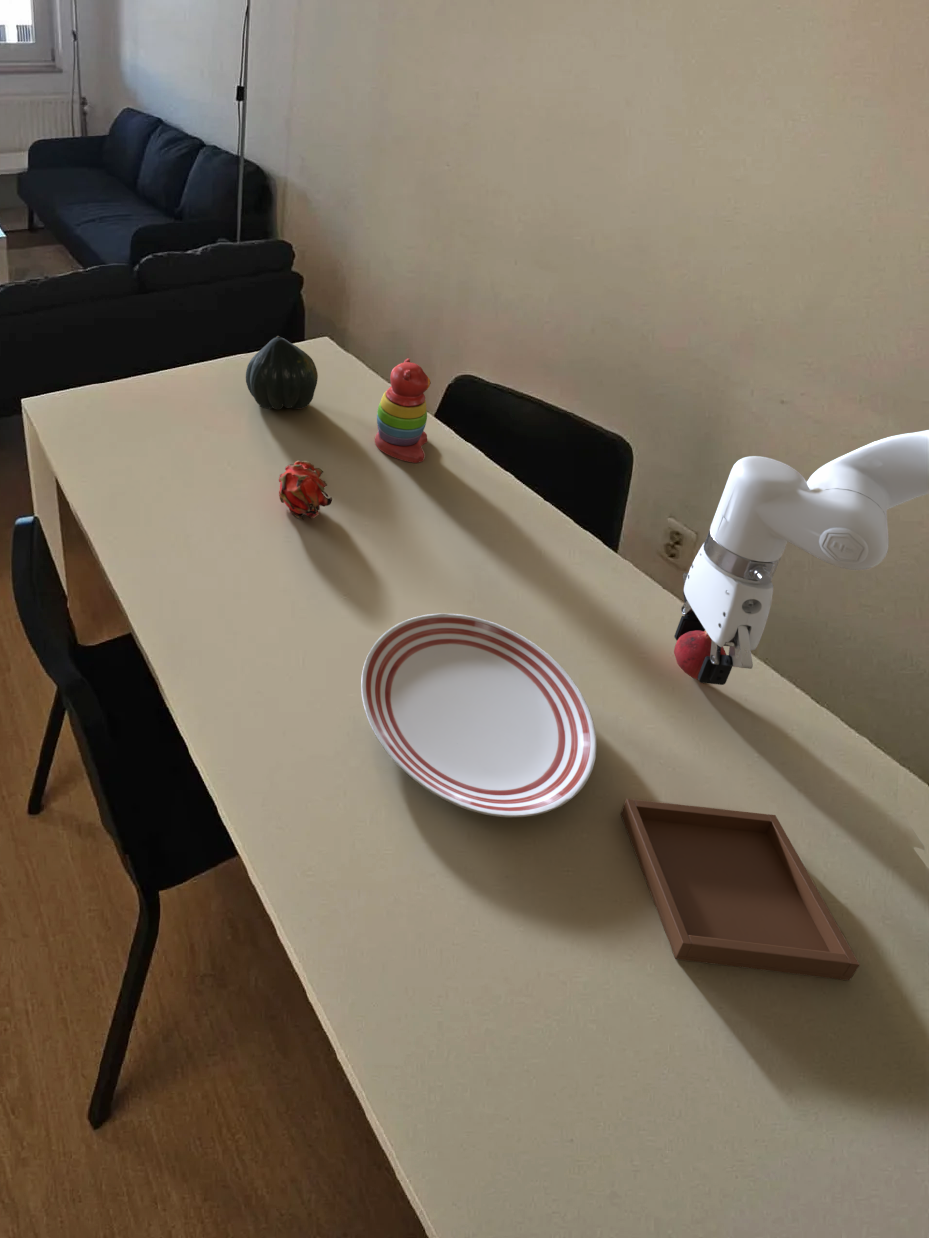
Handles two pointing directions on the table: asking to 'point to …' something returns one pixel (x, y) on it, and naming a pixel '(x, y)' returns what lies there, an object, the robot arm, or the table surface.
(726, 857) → the tray
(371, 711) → the dinner plate
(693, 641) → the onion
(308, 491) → the dragon fruit
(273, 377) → the squash
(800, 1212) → the table surface
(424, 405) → the stacking bear
